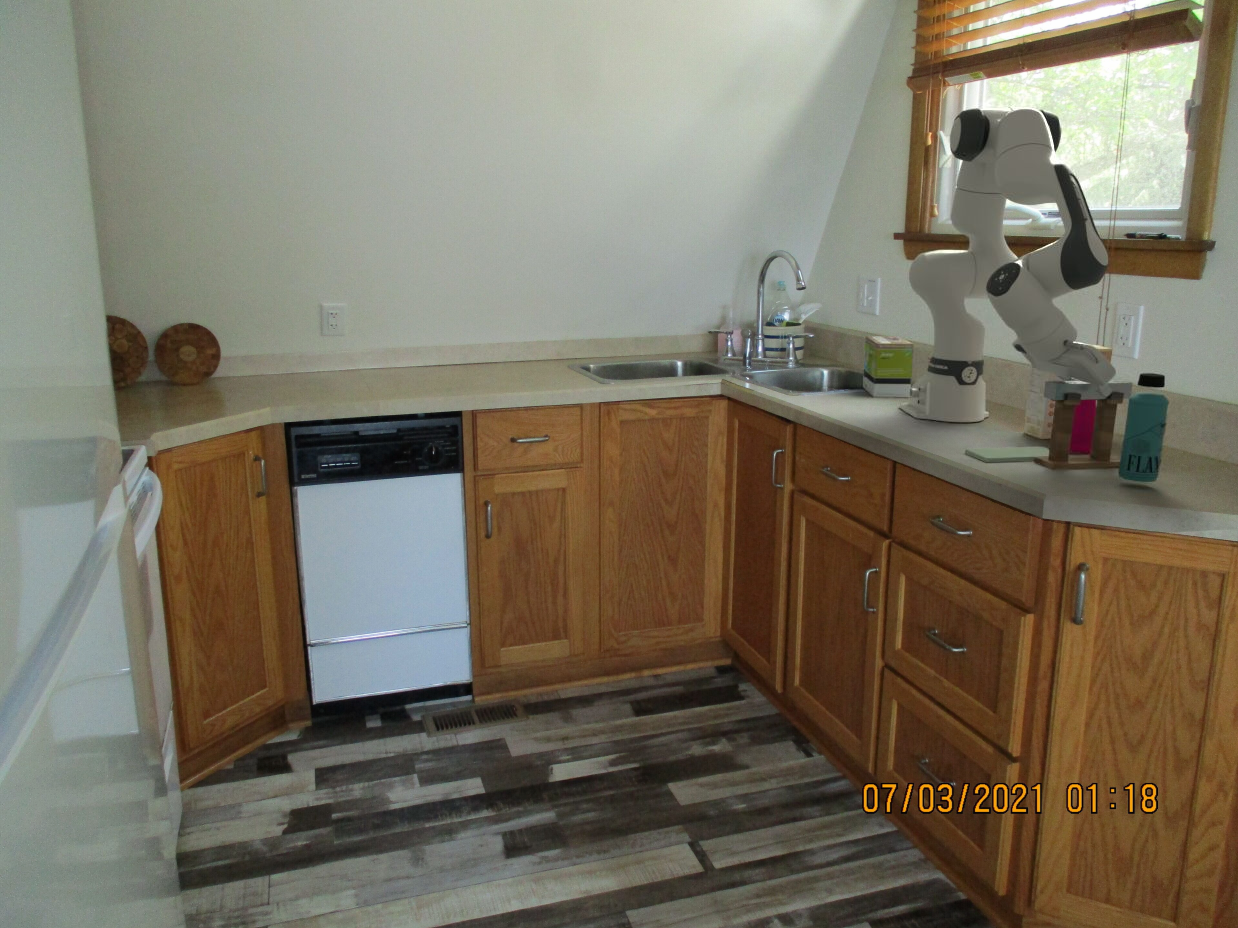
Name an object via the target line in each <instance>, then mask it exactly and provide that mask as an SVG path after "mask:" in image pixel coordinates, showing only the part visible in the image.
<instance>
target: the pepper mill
mask: <svg viewBox="0 0 1238 928" xmlns="http://www.w3.org/2000/svg"><path fill="white" fill-rule="evenodd" d="M1095 414H1096V400H1094V399H1085V400H1081V401H1080V405H1075V411H1074V419H1073V426H1072V434H1071V442H1070V450H1069V453H1075V454H1085V455H1089V454H1090V452H1091V444H1092V437H1093V429H1094V421H1095Z"/></svg>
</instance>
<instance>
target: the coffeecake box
mask: <svg viewBox="0 0 1238 928" xmlns="http://www.w3.org/2000/svg"><path fill="white" fill-rule="evenodd" d="M1091 345H1092V346H1094V347H1095V348H1096V349H1098V350H1099V351H1100V352H1101V353H1102V354H1103V355H1104V356H1105V358H1106V359H1107V360H1108V361H1109V362H1110V363H1111V364H1112V362H1111V361H1112V356H1113V355H1112V354H1113V348H1111V347H1107V346H1106V347H1105V346H1102V345H1098V344H1091ZM1045 381H1061V380H1060V379H1059V378H1057V377H1056V376H1055V375H1053V374H1049V373H1045V372H1041V371H1039V370H1038V369H1036V368H1035V367H1034V366H1033V365H1032V364H1031V363H1030V372H1029V382H1028V383H1029V385H1028V392H1027V398H1026V399H1027V401H1026V409H1025V410H1026V411H1025V418H1024V426H1023V427H1024V428H1023V434H1025V435H1027V434H1028V435H1027V436H1030V435H1031V437H1035V438H1037V439H1040V440H1051V432H1052V424H1053V416H1054V408H1055V401H1052V400H1051V399H1049V398H1045V397H1044V389H1045ZM1096 406H1097V400H1096Z"/></svg>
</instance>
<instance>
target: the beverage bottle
mask: <svg viewBox="0 0 1238 928" xmlns="http://www.w3.org/2000/svg"><path fill="white" fill-rule="evenodd" d="M1165 377H1166V376H1165V375H1164V374H1162V373H1152V372H1151V373H1150V372H1148V373H1147V372H1146V373H1145V372H1144V373H1140V374H1139V377H1138V380H1137V386H1140V387H1145V388H1155V389H1156V388H1157V389H1158V388H1165V385H1166V384H1165V380H1166V378H1165ZM1169 404H1170V400H1169V399H1168V397H1166V395H1164V394H1163V393H1160V392H1154V391H1137V392H1135V393H1134V394H1131V397H1129V398H1128V405H1127V413H1126V420H1125V428H1124V435H1123V441H1122V445H1121V451H1120V458H1119V459H1118V460H1119V461H1120V464H1119V467H1118V471H1117V472H1118V477H1120V479H1124V480H1126V481H1131V482H1132V481H1133V482H1139V483H1152V482H1156V481H1157V479H1158V478H1159V473H1160V470H1161V464H1162V463H1161V462H1162V458H1163V457H1162V456H1163V455H1162V454H1163V453H1162V452H1163V448H1164V445H1163V443H1164V438H1165V434H1166V429H1167V427H1166V426H1167V418H1168V407H1169Z"/></svg>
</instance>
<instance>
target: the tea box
mask: <svg viewBox="0 0 1238 928" xmlns="http://www.w3.org/2000/svg"><path fill="white" fill-rule="evenodd" d="M864 345H865V346H864V363H863V375H862V376H863V377H862V378H863V379H862V388H864V389H865V390H866V391H867V392H868V393H869V394H870V395H871V396H872V397H873V398H910V394H909V392H910V389H911V388H912V373H913V372H912V371H913V359H914V358H913V357H914V348H915V347H914V343H913V342H910V341H909V340H907V339H905V338H903V337H902V336H890V335H889V336H888V335H887V336H886V335H885V336H884V335H883V336H880V335H879V336H874V335H873V336H865V342H864Z"/></svg>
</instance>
